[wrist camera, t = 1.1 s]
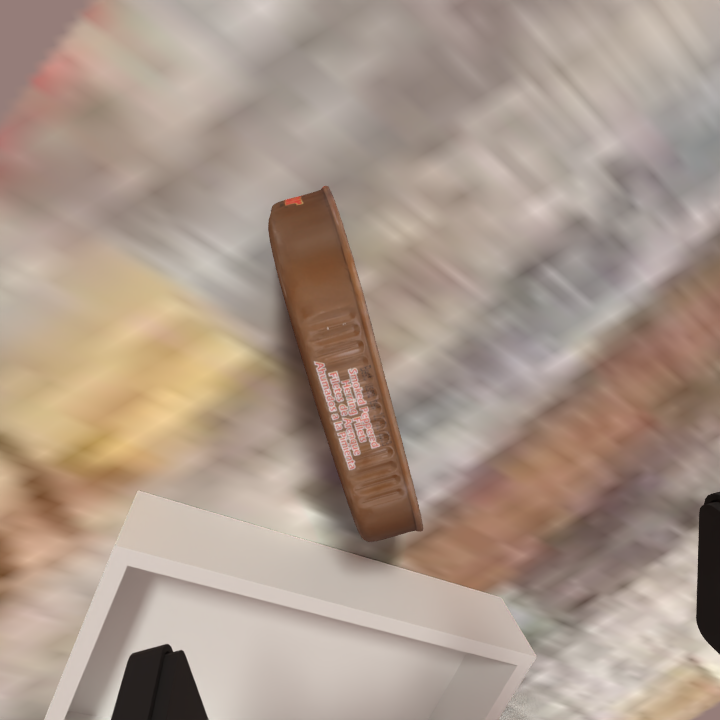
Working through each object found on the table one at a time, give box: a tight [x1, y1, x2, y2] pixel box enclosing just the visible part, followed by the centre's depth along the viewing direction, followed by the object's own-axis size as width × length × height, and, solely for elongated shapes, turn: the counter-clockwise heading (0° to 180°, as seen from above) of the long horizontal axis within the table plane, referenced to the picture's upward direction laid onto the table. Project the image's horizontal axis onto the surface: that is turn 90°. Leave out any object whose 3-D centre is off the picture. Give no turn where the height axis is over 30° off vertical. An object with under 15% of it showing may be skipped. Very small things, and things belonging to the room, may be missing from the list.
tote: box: [44, 490, 537, 720], centre depth 29 cm, size 22×14×4 cm, turn 65°
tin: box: [268, 186, 423, 542], centre depth 23 cm, size 15×3×8 cm, turn 15°
